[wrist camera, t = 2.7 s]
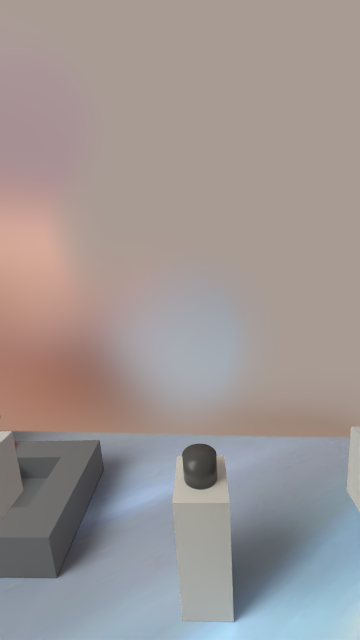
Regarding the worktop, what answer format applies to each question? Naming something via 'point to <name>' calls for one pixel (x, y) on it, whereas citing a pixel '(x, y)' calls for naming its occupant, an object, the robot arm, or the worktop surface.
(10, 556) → the socket
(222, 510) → the plug
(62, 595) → the worktop surface
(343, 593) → the worktop surface
